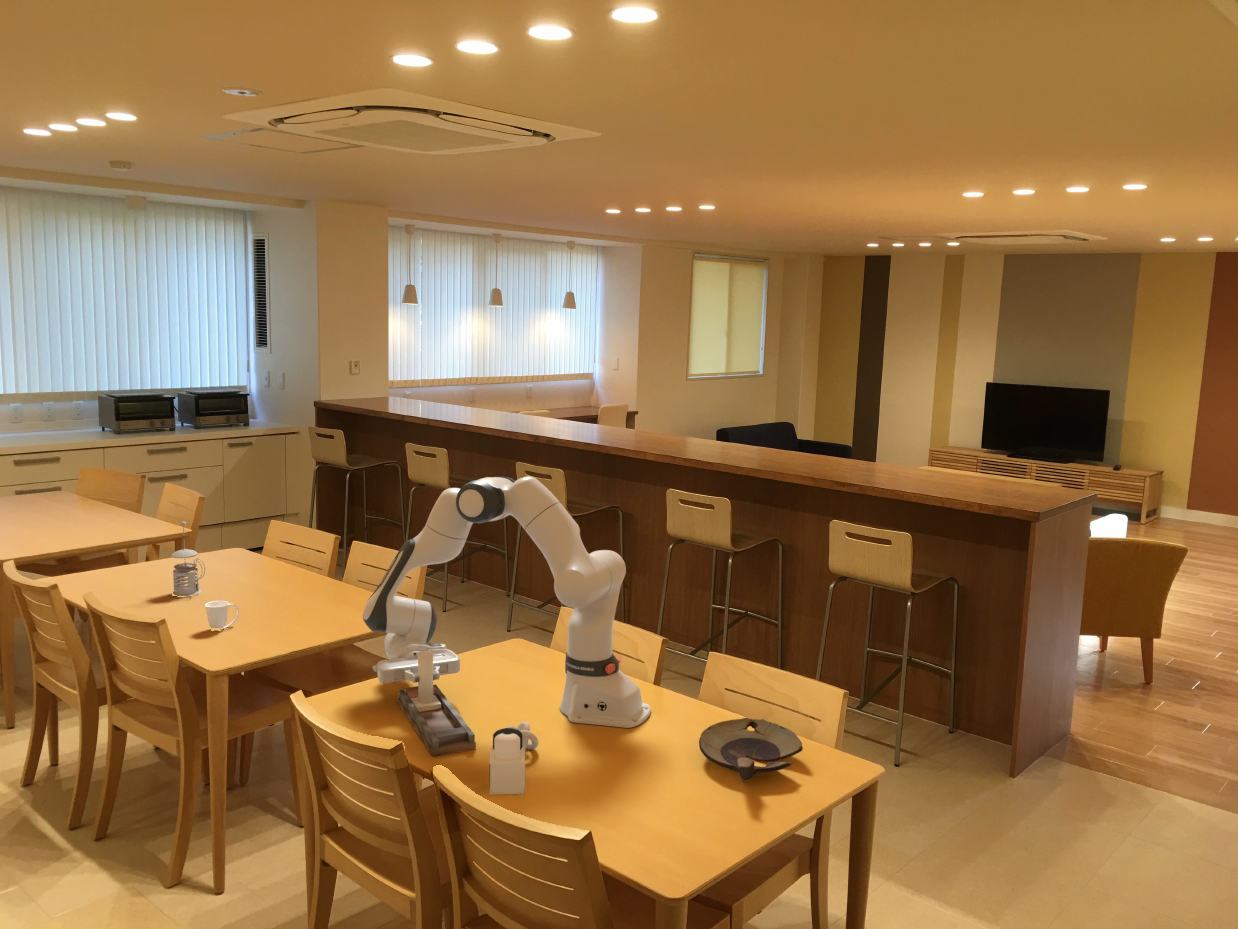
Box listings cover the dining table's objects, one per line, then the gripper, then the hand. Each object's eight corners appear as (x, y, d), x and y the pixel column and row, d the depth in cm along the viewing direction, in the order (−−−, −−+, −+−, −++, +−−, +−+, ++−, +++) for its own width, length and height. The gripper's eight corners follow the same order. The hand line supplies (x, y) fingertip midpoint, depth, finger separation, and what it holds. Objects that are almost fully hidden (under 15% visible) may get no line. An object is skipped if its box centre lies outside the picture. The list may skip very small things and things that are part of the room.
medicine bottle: (490, 779, 203) (491, 724, 201) (524, 778, 204) (525, 724, 202) (489, 795, 196) (489, 739, 194) (524, 795, 197) (525, 739, 195)
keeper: (441, 708, 234) (441, 656, 232) (416, 712, 232) (416, 659, 230) (434, 699, 240) (434, 648, 238) (410, 703, 237) (410, 651, 235)
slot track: (475, 749, 217) (475, 730, 216) (432, 756, 212) (431, 737, 212) (437, 697, 245) (437, 680, 244) (397, 703, 241) (397, 686, 240)
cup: (201, 629, 292) (200, 603, 291) (233, 622, 300) (232, 597, 298) (211, 634, 288) (210, 608, 286) (244, 627, 295) (243, 601, 294)
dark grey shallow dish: (817, 755, 218) (819, 723, 217) (760, 809, 193) (762, 773, 192) (728, 730, 230) (729, 699, 229) (664, 778, 205) (665, 744, 204)
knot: (543, 746, 219) (544, 721, 218) (531, 761, 212) (531, 736, 211) (512, 741, 221) (513, 717, 220) (499, 756, 214) (499, 731, 213)
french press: (181, 588, 334) (178, 517, 330) (212, 590, 332) (210, 519, 329) (164, 596, 324) (160, 523, 321) (196, 598, 323) (193, 525, 319)
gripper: (370, 653, 241) (383, 671, 229) (450, 642, 250) (466, 660, 238) (371, 677, 242) (383, 697, 230) (450, 666, 251) (466, 684, 239)
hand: (426, 678), depth 234 cm, fingers closed on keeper, 4 cm apart
